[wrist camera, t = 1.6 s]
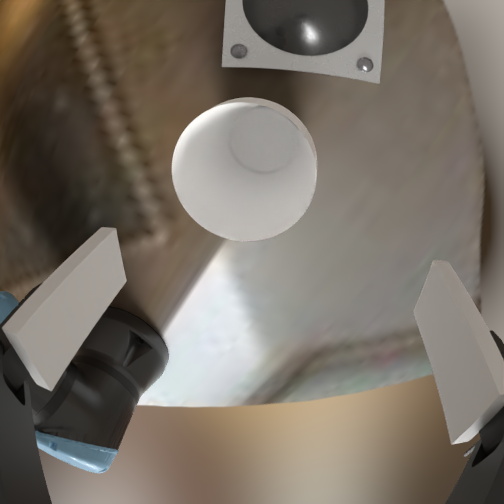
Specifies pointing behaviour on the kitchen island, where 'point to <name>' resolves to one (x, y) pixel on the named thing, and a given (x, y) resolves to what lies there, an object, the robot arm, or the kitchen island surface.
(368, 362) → the kitchen island surface
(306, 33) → the flange
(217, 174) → the cup
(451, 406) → the robot arm
